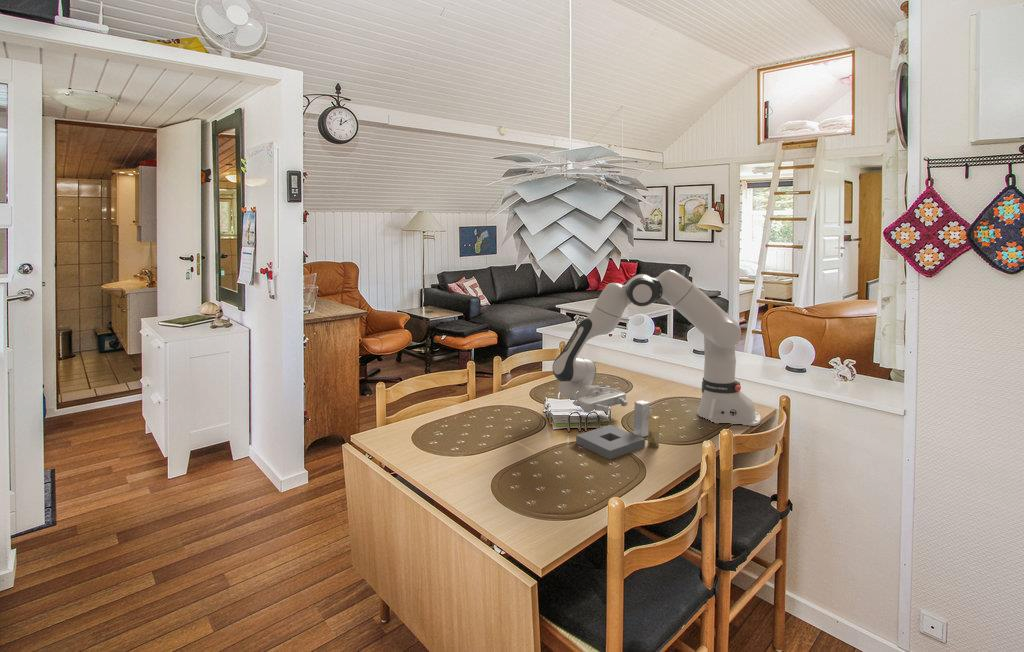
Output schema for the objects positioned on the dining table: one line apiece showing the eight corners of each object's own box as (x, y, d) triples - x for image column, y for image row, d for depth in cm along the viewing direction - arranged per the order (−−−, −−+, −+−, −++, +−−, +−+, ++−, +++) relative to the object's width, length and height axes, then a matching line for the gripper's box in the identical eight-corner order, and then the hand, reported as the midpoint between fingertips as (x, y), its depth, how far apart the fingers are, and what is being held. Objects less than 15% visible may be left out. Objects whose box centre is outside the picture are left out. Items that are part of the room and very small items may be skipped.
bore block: (576, 443, 192) (576, 435, 191) (610, 432, 201) (610, 424, 200) (609, 459, 179) (609, 450, 178) (644, 447, 188) (645, 438, 187)
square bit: (633, 434, 199) (634, 401, 196) (640, 432, 201) (641, 399, 198) (641, 437, 196) (642, 404, 193) (648, 435, 198) (649, 402, 195)
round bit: (659, 445, 189) (660, 416, 187) (657, 449, 186) (658, 420, 184) (648, 443, 191) (649, 415, 189) (646, 447, 188) (647, 418, 186)
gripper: (570, 394, 211) (595, 404, 200) (610, 384, 222) (636, 393, 211) (570, 410, 212) (595, 421, 201) (609, 399, 224) (635, 409, 213)
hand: (616, 406), depth 206 cm, fingers open, 8 cm apart
